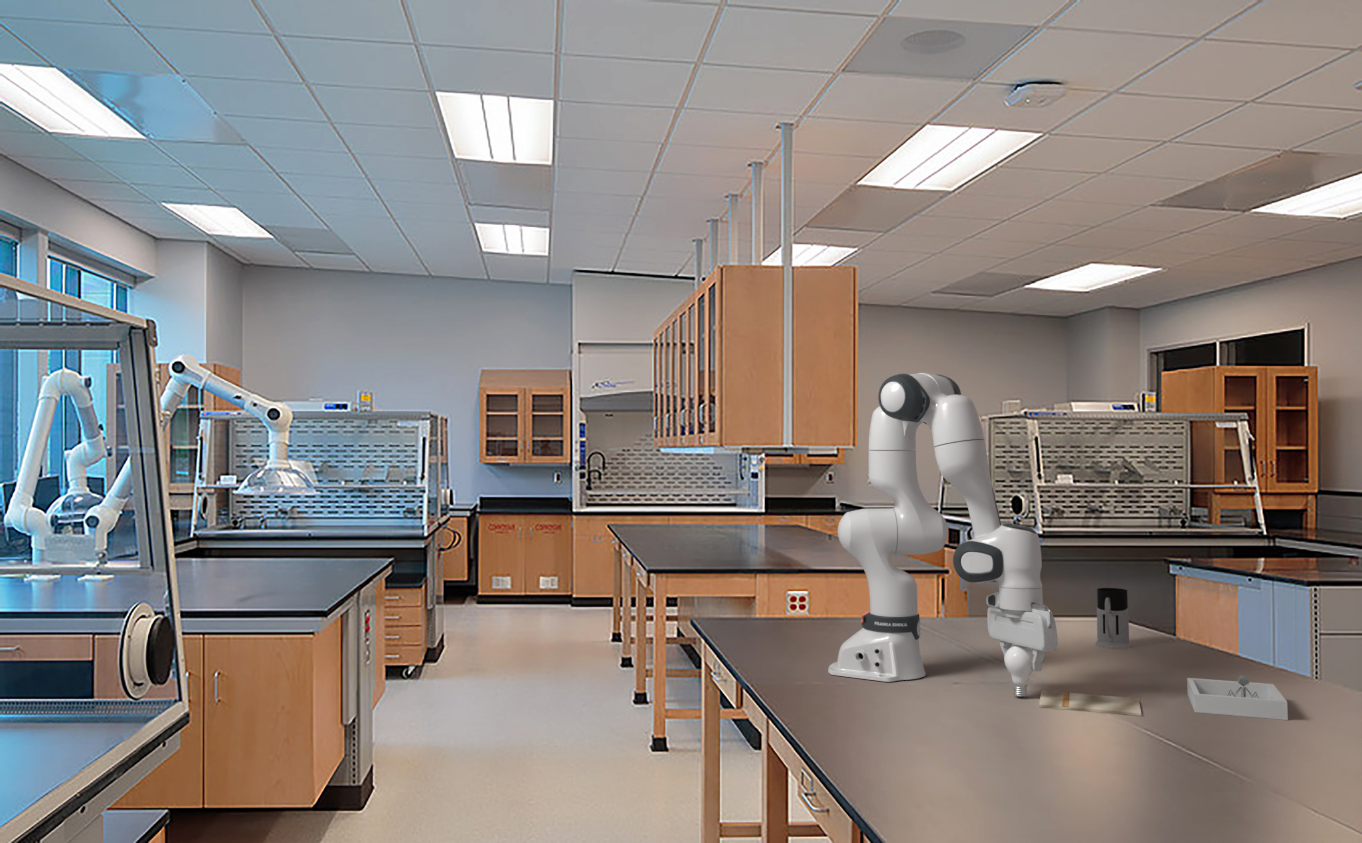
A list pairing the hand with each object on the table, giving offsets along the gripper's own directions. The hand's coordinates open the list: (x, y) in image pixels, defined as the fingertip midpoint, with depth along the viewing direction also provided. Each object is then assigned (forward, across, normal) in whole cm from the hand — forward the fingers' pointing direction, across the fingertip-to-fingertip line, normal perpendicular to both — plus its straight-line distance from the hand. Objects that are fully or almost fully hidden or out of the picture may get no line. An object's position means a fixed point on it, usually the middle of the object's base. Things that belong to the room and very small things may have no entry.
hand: (1022, 666), depth 209 cm
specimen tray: (+7, -18, -37) cm, 42 cm away
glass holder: (+5, +42, -56) cm, 70 cm away
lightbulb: (+7, +1, 0) cm, 7 cm away
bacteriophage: (+7, -18, -39) cm, 44 cm away
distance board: (+7, -8, -10) cm, 14 cm away
